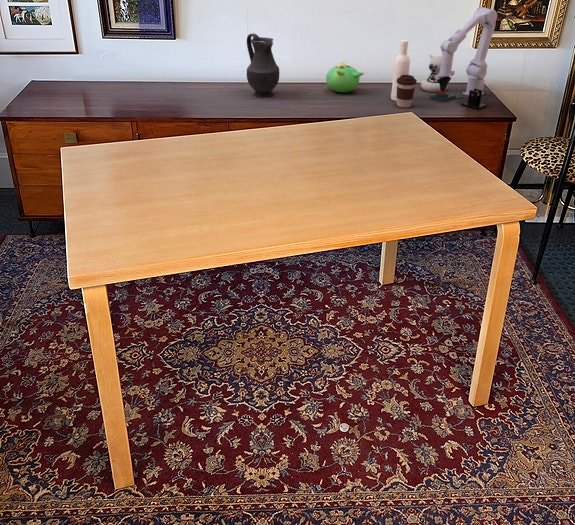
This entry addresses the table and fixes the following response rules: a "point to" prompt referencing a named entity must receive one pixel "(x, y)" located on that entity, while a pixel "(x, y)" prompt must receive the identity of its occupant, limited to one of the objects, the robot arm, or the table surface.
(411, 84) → the coffee cup
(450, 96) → the button box
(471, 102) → the bracket
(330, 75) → the toy bird
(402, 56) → the bottle
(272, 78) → the pitcher
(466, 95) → the lever
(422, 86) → the decorative figurine
